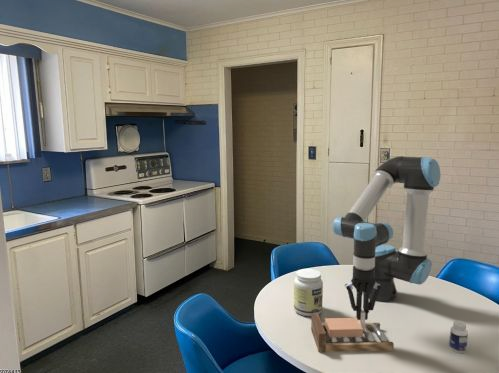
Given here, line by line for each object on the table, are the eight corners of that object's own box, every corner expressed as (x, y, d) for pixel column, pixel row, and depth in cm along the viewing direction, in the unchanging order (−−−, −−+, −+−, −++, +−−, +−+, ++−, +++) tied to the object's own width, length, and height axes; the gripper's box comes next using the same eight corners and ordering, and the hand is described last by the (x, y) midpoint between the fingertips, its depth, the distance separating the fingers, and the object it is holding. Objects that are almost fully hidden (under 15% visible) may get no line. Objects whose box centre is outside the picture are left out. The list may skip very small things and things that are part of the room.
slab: (356, 325, 144) (356, 317, 143) (362, 336, 136) (363, 329, 136) (324, 325, 144) (324, 318, 143) (329, 337, 136) (329, 329, 135)
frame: (378, 328, 148) (379, 311, 147) (393, 350, 134) (394, 332, 132) (311, 330, 147) (311, 313, 146) (318, 352, 133) (319, 333, 132)
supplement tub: (315, 320, 155) (316, 281, 152) (288, 312, 161) (289, 275, 158) (326, 308, 165) (327, 271, 162) (300, 301, 171) (301, 265, 168)
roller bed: (324, 329, 146) (324, 323, 145) (377, 328, 146) (377, 322, 145) (330, 346, 135) (331, 339, 134) (387, 344, 135) (388, 338, 135)
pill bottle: (445, 344, 137) (447, 319, 135) (460, 344, 137) (462, 318, 135) (455, 353, 131) (457, 327, 130) (469, 352, 132) (472, 326, 130)
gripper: (378, 262, 140) (375, 321, 144) (343, 263, 139) (341, 322, 143) (385, 270, 132) (382, 332, 136) (348, 270, 132) (346, 333, 136)
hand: (361, 327), depth 140 cm, fingers closed
